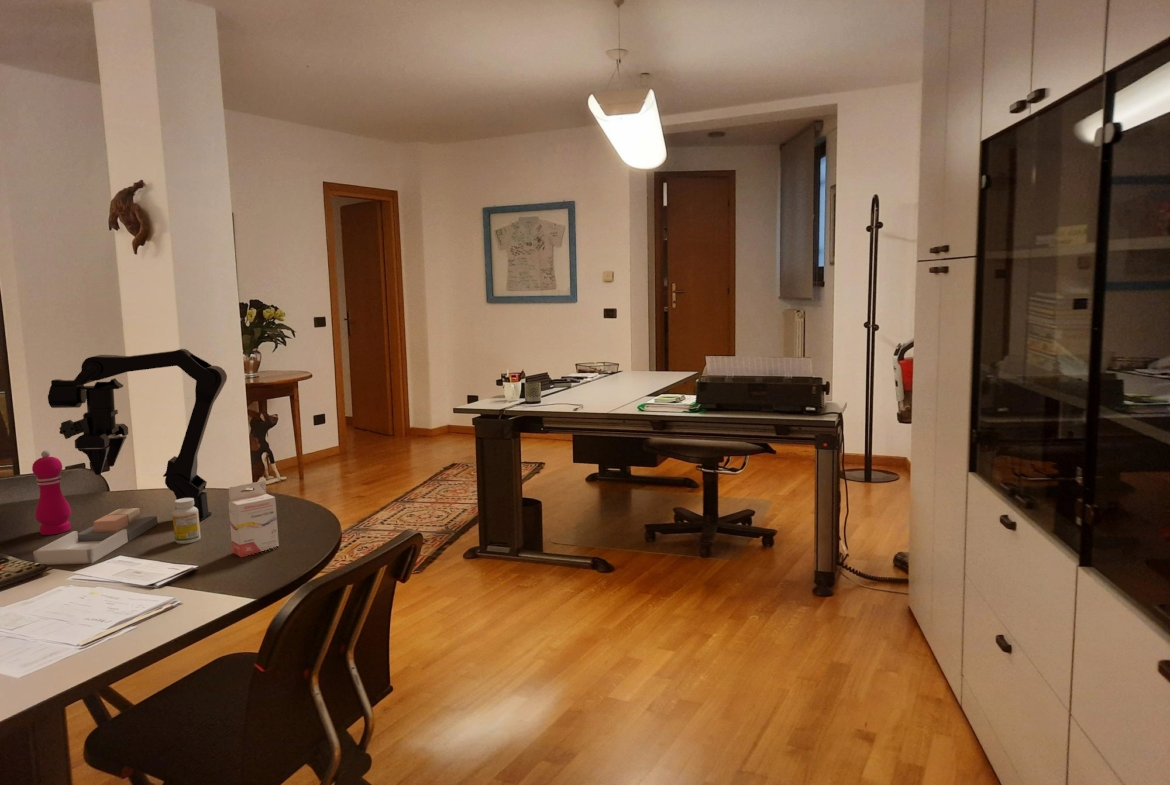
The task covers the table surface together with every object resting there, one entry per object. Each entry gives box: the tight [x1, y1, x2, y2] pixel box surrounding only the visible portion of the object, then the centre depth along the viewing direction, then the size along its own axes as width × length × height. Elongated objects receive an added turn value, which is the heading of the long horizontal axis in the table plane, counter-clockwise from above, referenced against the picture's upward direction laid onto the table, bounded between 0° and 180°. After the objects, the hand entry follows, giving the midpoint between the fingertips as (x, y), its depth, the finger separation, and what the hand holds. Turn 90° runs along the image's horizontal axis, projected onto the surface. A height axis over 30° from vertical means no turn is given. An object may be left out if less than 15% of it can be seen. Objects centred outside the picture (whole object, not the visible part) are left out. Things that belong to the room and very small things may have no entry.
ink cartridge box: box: [228, 480, 280, 558], centre depth 173 cm, size 9×5×15 cm, turn 135°
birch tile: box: [107, 507, 141, 524], centre depth 192 cm, size 5×5×2 cm
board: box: [77, 515, 159, 542], centre depth 190 cm, size 12×13×2 cm
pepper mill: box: [31, 450, 72, 536], centre depth 192 cm, size 7×7×20 cm
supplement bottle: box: [171, 498, 202, 545], centre depth 182 cm, size 5×5×10 cm
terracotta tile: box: [93, 514, 128, 532], centre depth 187 cm, size 5×5×2 cm
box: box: [32, 529, 129, 566], centre depth 176 cm, size 12×14×3 cm
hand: (104, 470), depth 194 cm, fingers open, 9 cm apart
